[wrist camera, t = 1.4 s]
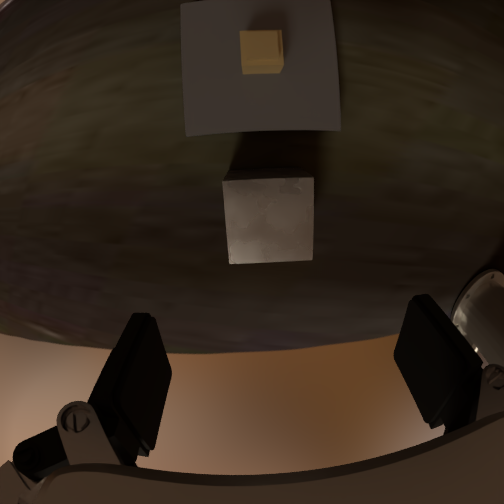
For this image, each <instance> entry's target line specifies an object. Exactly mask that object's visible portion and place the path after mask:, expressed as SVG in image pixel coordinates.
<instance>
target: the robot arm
mask: <svg viewBox="0 0 504 504" xmlns="http://www.w3.org/2000/svg"><path fill="white" fill-rule="evenodd" d="M479 351H480V353H481V354H482V355H483V357H484V358H485V359H486V361H487V362H488V363H489V365H488V366H486V367H485V368H484V369H482V368H481V366H482V364H483V361H482V360H481V358H480V357H479V356H478V354H477V353H478V352H479ZM394 360H395V362H396V364H397V366H398V367H399V370H400V371H401V374H402V376H403V378H404V380H405V382H406V384H407V386H408V388H409V390H410V392H411V394H412V396H413V398H414V400H415V402H416V404H417V407H418V409H419V411H420V413H421V415H422V417H423V420H424V421H425V422H426V423H429V426H430V428H431V429H433V428H436V427H438V426H441V425H442V424H444V426H445V431H444V434H443V436H440V437H437V438H435V439H432V440H430V441H427V442H424V443H421V444H419V445H416V446H413V447H410V448H407V449H404V450H401V451H397V452H394V453H391V454H387V455H383V456H380V457H376V458H372V459H368V460H363V461H360V462H354V463H350V464H345V465H340V466H334V467H329V468H322V469H315V470H308V471H300V472H290V473H278V474H262V475H209V474H194V473H181V472H170V471H162V470H154V469H147V468H140V467H138V466H137V465H136V463H135V461H136V460H137V456H138V455H140V456H145V457H148V456H149V452H150V450H154V448H155V444H156V440H157V435H158V431H159V426H160V422H161V418H162V414H163V409H164V405H165V401H166V397H167V393H168V388H169V385H170V381H171V376H172V370H171V366H170V364H169V360H168V358H167V354H166V351H165V348H164V345H163V342H162V339H161V336H160V332H159V329H158V326H157V322H156V319H155V318H154V317H151V315H150V314H149V313H133V314H132V316H131V318H130V320H129V321H128V323H127V325H126V327H125V329H124V331H123V333H122V335H121V337H120V339H119V341H118V343H117V345H116V347H115V348H113V350H112V351H111V353H110V356H109V357H108V359H107V361H106V363H105V365H104V367H103V369H102V371H101V374H100V376H99V378H98V380H97V382H96V384H95V386H94V388H93V391H92V393H91V395H90V397H89V400H88V402H87V403H86V402H83V401H74V402H71V403H69V404H67V405H65V406H64V407H63V408H62V409H61V410H60V412H59V414H58V416H57V426H55V427H53V428H50V429H48V430H46V431H44V432H42V433H40V434H37V435H36V436H33V437H31V438H29V439H27V440H24V441H22V442H21V443H19V444H18V445H17V446H16V448H15V450H14V452H13V461H12V462H10V461H9V460H8V461H7V462H6V463H5V464H3V465H2V466H1V467H0V504H504V275H503V274H502V273H501V272H500V271H498V270H496V269H489V270H486V271H484V272H482V273H480V274H479V275H477V276H476V277H475V278H474V279H473V280H472V281H471V282H470V283H469V284H468V285H467V286H466V287H465V289H464V290H463V291H462V293H461V294H460V296H459V297H458V299H457V301H456V303H455V305H454V308H453V310H452V314H451V319H449V317H448V316H447V315H446V314H445V313H444V312H443V310H442V309H441V308H440V307H439V306H438V305H437V303H436V302H435V301H434V300H433V299H432V298H431V297H430V295H428V294H422V295H415V296H414V297H413V298H412V300H410V301H409V303H408V307H407V311H406V314H405V318H404V321H403V325H402V328H401V331H400V334H399V338H398V341H397V344H396V347H395V350H394Z"/></svg>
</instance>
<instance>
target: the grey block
mask: <svg viewBox="0 0 504 504" xmlns="http://www.w3.org/2000/svg"><path fill="white" fill-rule="evenodd" d="M181 56H182V81H183V100H184V116H185V129H186V137H189V136H198V135H208V134H219V133H232V132H248V131H272V130H326V131H341V115H340V92H339V76H338V63H337V52H336V42H335V33H334V25H333V17H332V10H331V3H330V0H204V1H196V2H190V3H184V4H181Z"/></svg>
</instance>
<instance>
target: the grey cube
mask: <svg viewBox="0 0 504 504" xmlns="http://www.w3.org/2000/svg"><path fill="white" fill-rule="evenodd" d="M222 182H223V195H224V207H225V219H226V230H227V241H228V252H229V263H230V264H241V263H262V262H282V261H301V260H312V255H313V220H314V177H313V176H311V175H310V174H309V173H307V172H306V171H305V170H303V169H302V168H301V167H291V168H261V169H241V170H228V172H227V174H226V176H225V177H224V179H223V181H222Z"/></svg>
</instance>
